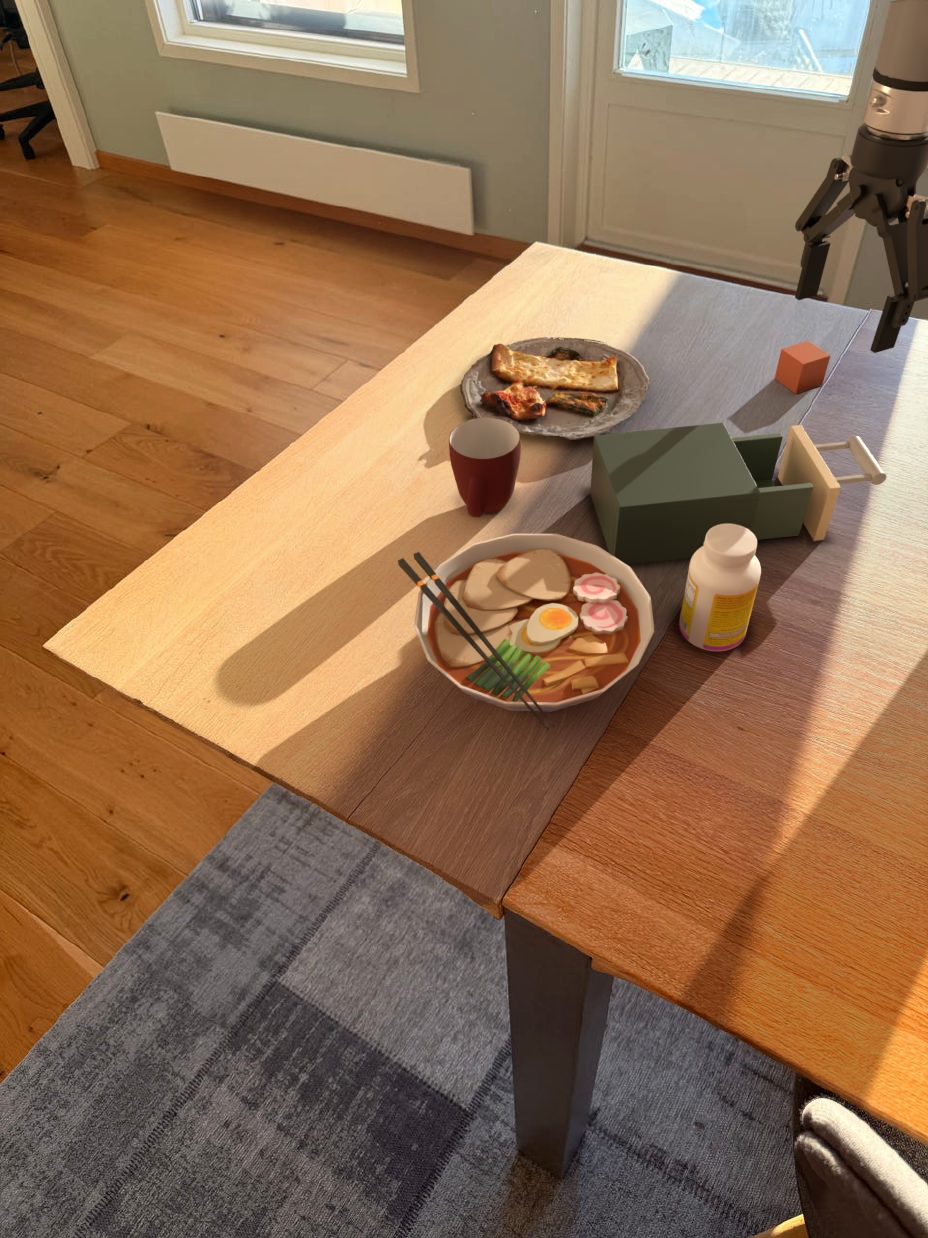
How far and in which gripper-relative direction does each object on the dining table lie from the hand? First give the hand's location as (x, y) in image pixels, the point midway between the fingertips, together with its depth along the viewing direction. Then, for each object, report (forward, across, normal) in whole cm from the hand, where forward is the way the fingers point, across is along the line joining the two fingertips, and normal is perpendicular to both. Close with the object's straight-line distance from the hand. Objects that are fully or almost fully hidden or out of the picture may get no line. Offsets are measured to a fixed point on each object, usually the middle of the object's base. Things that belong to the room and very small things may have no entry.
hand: (842, 321), depth 106 cm
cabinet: (+14, +9, -28) cm, 33 cm away
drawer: (+13, +13, -16) cm, 24 cm away
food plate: (+15, -21, -27) cm, 37 cm away
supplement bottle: (+14, +25, -32) cm, 44 cm away
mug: (+15, -2, -45) cm, 48 cm away
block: (+14, -9, +5) cm, 18 cm away
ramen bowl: (+15, +21, -50) cm, 57 cm away
